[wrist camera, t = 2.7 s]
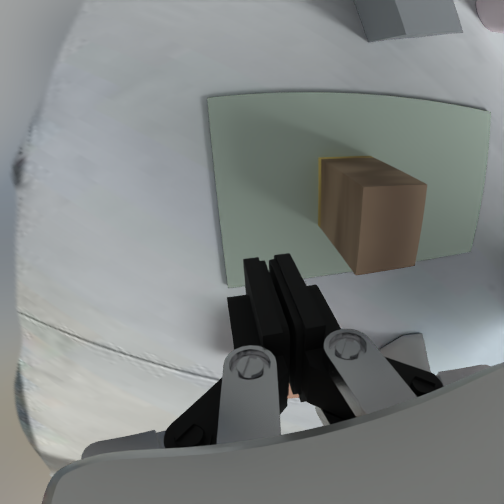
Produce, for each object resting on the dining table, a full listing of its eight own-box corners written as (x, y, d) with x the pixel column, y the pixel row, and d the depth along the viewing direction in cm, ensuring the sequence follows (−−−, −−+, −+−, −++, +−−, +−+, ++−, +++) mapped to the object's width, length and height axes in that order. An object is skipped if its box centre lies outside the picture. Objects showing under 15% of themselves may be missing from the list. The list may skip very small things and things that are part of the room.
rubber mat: (487, 111, 20) (490, 112, 20) (468, 250, 27) (470, 251, 26) (207, 97, 18) (207, 97, 18) (227, 285, 25) (228, 288, 25)
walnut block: (370, 156, 21) (427, 184, 15) (366, 220, 23) (414, 265, 17) (318, 157, 21) (363, 187, 14) (317, 224, 23) (355, 275, 17)
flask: (372, 344, 31) (412, 418, 22) (428, 323, 31) (475, 386, 22) (368, 383, 34) (399, 449, 26) (418, 364, 34) (454, 423, 26)
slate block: (401, -20, 15) (439, -35, 10) (420, 37, 17) (463, 32, 13) (345, -19, 15) (378, -40, 11) (367, 42, 17) (406, 34, 13)
